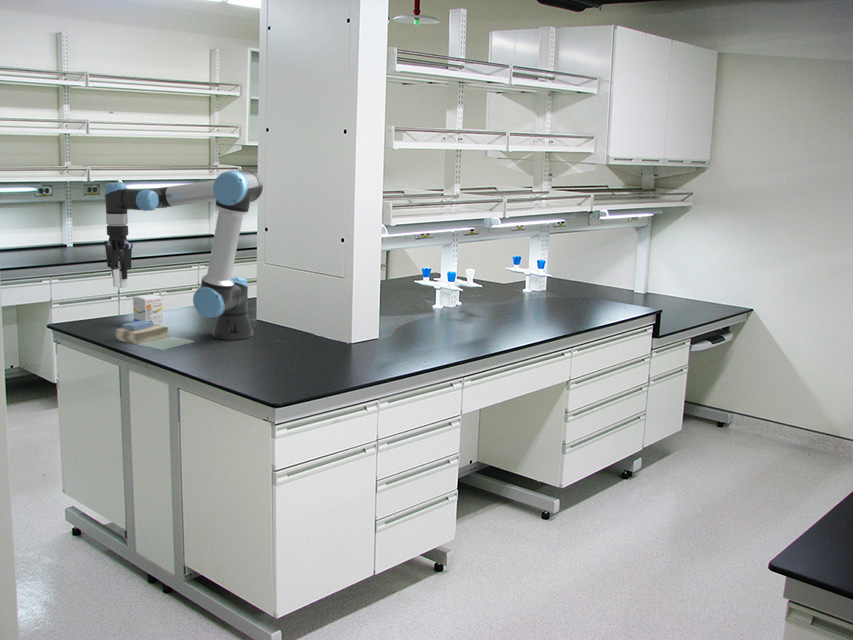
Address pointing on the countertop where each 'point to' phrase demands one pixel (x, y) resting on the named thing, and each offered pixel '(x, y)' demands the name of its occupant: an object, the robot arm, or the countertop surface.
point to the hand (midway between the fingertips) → (120, 286)
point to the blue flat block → (137, 325)
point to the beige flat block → (142, 334)
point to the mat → (166, 343)
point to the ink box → (148, 308)
